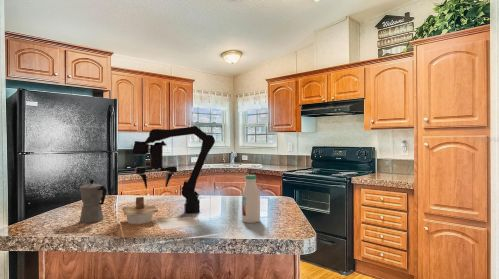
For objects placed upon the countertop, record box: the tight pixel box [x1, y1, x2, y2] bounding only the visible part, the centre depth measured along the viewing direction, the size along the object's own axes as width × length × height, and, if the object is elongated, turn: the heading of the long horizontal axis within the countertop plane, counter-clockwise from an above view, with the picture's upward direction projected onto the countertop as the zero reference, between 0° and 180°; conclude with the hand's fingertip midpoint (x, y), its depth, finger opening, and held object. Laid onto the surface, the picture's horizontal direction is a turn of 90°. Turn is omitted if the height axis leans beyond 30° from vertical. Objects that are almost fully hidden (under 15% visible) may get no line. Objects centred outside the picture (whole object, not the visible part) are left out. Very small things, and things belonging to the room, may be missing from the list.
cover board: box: [122, 196, 159, 216], centre depth 133 cm, size 13×13×6 cm
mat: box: [154, 216, 202, 230], centre depth 130 cm, size 16×16×1 cm
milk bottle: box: [241, 174, 261, 224], centre depth 135 cm, size 8×8×20 cm
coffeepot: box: [79, 179, 108, 224], centre depth 136 cm, size 15×9×18 cm, turn 65°
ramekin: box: [126, 213, 154, 225], centre depth 133 cm, size 11×11×5 cm
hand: (156, 187), depth 149 cm, fingers open, 9 cm apart
